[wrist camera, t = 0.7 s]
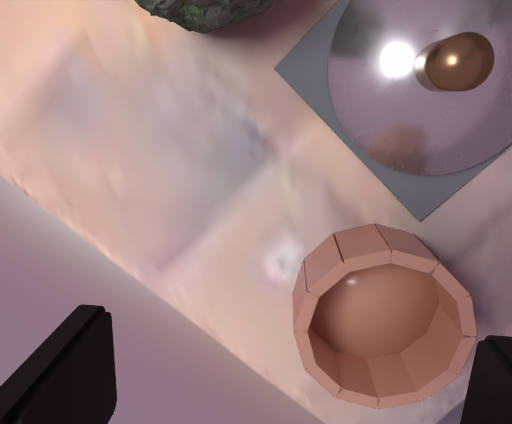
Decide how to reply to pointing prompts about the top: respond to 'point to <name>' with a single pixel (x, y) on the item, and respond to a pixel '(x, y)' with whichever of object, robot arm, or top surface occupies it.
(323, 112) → the mat
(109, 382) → the robot arm
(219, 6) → the vegetable
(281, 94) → the top surface
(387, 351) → the bowl
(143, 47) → the top surface
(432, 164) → the lid
